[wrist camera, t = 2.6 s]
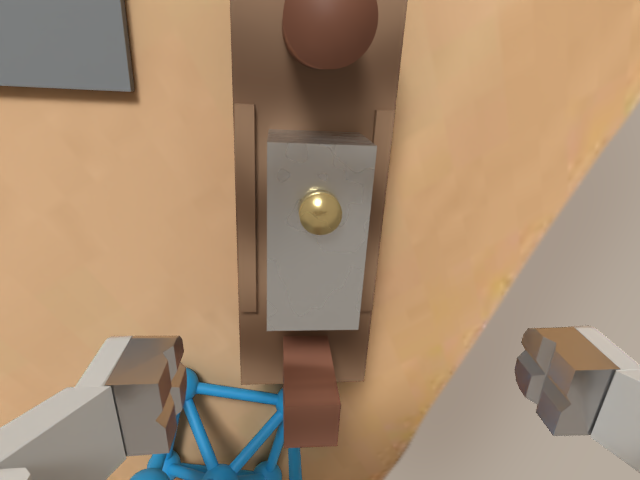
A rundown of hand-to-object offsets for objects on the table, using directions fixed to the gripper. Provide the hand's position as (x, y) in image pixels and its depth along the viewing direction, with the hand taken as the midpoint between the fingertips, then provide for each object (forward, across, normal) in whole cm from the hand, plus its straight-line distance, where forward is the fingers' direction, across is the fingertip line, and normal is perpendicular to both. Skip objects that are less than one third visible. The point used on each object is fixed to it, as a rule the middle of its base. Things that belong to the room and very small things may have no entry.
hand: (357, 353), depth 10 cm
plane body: (+16, +1, 0) cm, 16 cm away
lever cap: (+11, 0, 0) cm, 11 cm away
